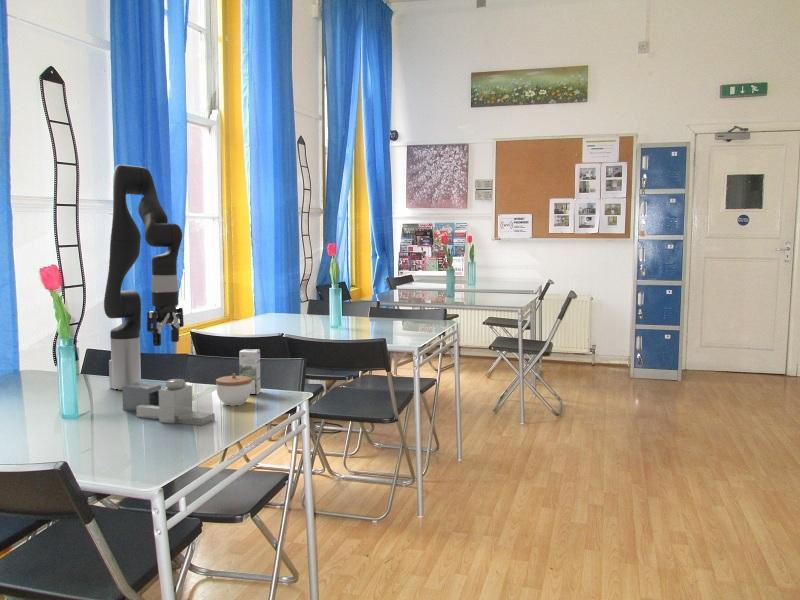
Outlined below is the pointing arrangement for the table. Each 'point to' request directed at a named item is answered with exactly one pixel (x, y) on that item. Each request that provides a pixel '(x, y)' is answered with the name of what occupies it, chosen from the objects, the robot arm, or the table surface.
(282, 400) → the table surface
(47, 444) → the table surface
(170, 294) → the robot arm
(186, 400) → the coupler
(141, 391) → the coupler lock
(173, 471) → the table surface
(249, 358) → the syrup box
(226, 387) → the lidded jar
